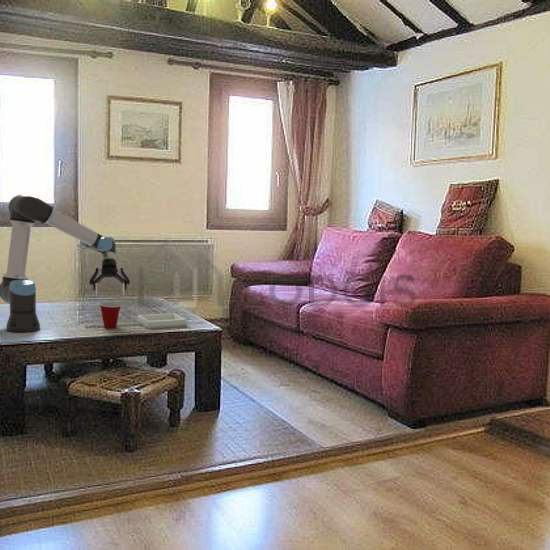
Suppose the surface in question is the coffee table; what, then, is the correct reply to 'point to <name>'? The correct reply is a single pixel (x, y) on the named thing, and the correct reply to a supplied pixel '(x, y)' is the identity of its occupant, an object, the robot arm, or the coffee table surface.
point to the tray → (162, 321)
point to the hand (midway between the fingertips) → (110, 294)
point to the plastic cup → (110, 314)
